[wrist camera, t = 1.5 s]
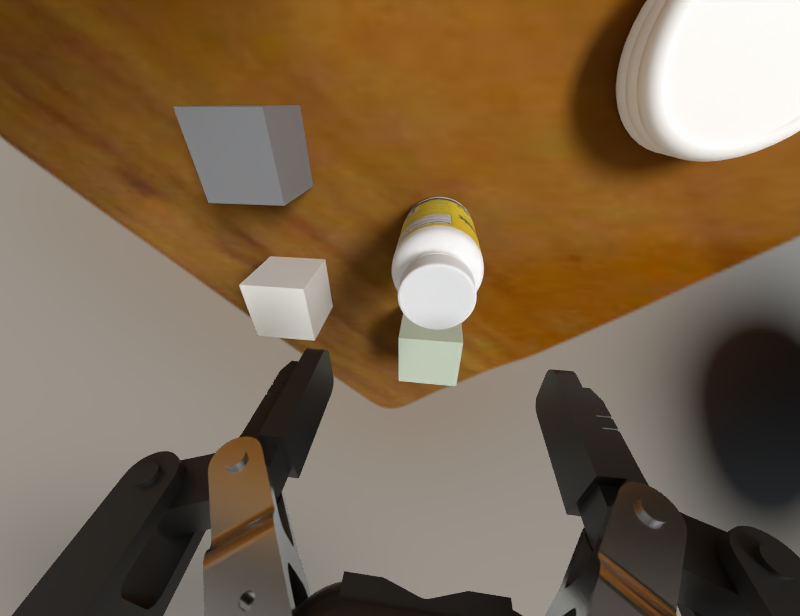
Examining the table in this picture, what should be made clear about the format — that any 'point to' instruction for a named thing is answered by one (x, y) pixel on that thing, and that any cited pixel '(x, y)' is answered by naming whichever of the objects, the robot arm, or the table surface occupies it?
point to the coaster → (711, 77)
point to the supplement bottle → (437, 264)
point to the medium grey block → (248, 152)
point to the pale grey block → (288, 297)
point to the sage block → (429, 353)
